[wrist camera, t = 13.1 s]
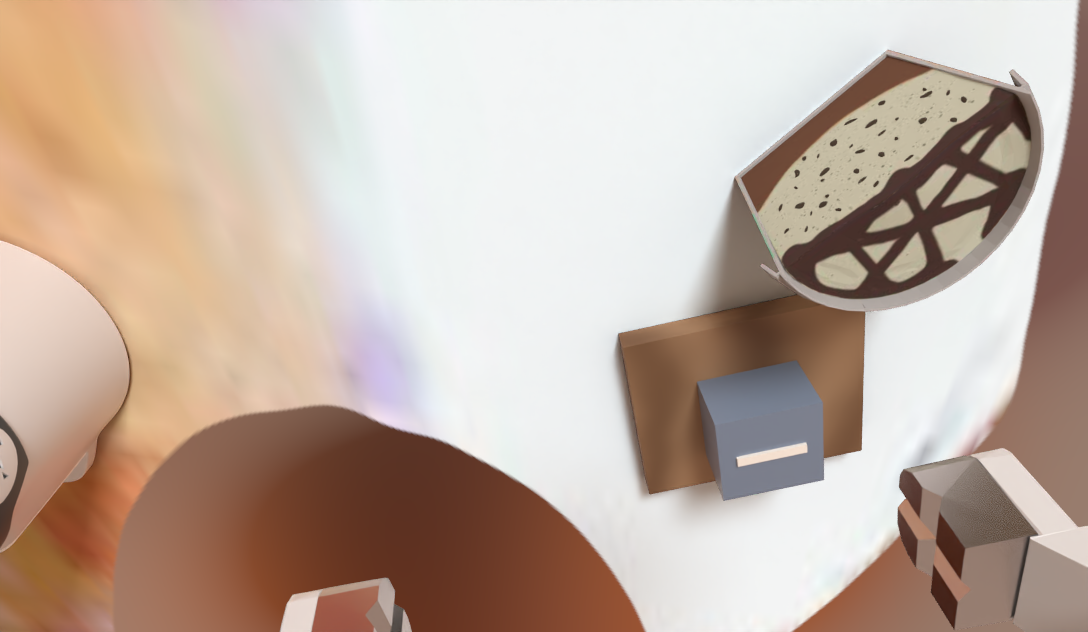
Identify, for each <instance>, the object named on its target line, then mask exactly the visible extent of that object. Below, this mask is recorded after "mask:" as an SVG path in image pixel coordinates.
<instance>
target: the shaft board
mask: <svg viewBox="0 0 1088 632" xmlns="http://www.w3.org/2000/svg"><path fill="white" fill-rule="evenodd" d="M864 335H865V312H864V311H847V310H842V309H837V308H832V307H828V306H825V305H821V304H818V303H815V302H813V301H810V300H808V299H805V298H803V297H801V296H799V295H794V296H790V297H785V298H780V299H776V300H771V301H767V302H762V303H757V304H753V305H748V306H744V307H739V308H734V309H730V310H725V311H721V312H716V313H711V314H707V315H702V316H698V317H693V318H688V319H684V320H679V321H675V322H670V323H665V324H661V325H656V326H652V327H647V328H642V329H638V330H633V331H629V332H624V333H619V339H620V345H621V350H622V355H623V361H624V366H625V372H626V377H627V382H628V388H629V393H630V399H631V404H632V409H633V415H634V420H635V426H636V431H637V436H638V442H639V447H640V453H641V458H642V463H643V469H644V474H645V479H646V483H647V486H648V490H649V494H654V493H659V492H664V491H669V490H673V489H678V488H683V487H688V486H693V485H697V484H702V483H707V482H712V481H716V480H715V477H714V474H713V472H712V469H711V466H710V464H709V461H708V459H707V456H706V450H705V442H704V435H703V427H702V419H701V411H700V403H699V395H698V387H697V382H698V381H703V380H707V379H712V378H717V377H721V376H726V375H731V374H735V373H740V372H744V371H749V370H754V369H758V368H763V367H768V366H772V365H777V364H782V363H786V362H791V361H796V360H797V362H798V363H799V365H800V367H801V368H802V370H803V371H804V373H805V375H806V376H807V378H808V379H809V381H810V383H811V384H812V386H813V387H814V389H815V391H816V392H817V394H818V395H819V397H820V399H821V400H822V402H823V450H824V458H827V457H832V456H837V455H841V454H846V453H851V452H856V451H861V450H862V413H863V374H864Z"/></svg>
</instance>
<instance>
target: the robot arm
mask: <svg viewBox="0 0 1088 632" xmlns="http://www.w3.org/2000/svg"><path fill="white" fill-rule="evenodd" d="M128 385H129V361H128V356H127V352H126V348H125V345H124V343H123V340H122V338H121V335H120V333H119V331H118V329H117V328H116V326H115V324H114V322H113V321H112V319H111V318H110V316H109V315H108V313H107V312H106V311H105V310H104V308H103V307H102V306H101V305H100V303H99V302H98V301H97V300H96V299H95V298H94V297H93V296H92V295H91V294H90V293H89V292H88V291H87V290H86V289H85V288H84V287H83V286H82V285H81V284H79V283H78V282H77V281H76V280H74V279H73V278H72V277H71V276H69V275H68V274H67V273H65V272H64V271H62V270H61V269H59V268H58V267H56V266H55V265H53V264H51V263H50V262H48V261H46V260H45V259H43V258H41V257H39V256H37V255H35V254H33V253H31V252H29V251H27V250H24V249H22V248H20V247H17V246H15V245H12V244H9V243H7V242H4V241H1V240H0V553H1V552H3V551H5V550H6V549H8V548H9V547H10V546H11V545H12V544H13V543H14V542H15V541H16V540H17V539H18V538H19V536H20V535H21V534H22V533H23V532H24V530H25V529H26V528H27V527H28V525H29V524H30V523H31V522H32V521H33V519H34V518H35V517H36V516H37V514H38V513H39V512H40V511H41V509H42V508H43V507H44V506H45V505H46V503H47V502H48V501H49V500H50V498H51V497H52V496H53V495H54V493H55V492H56V491H57V490H58V488H59V487H60V486H61V484H62V483H63V482H73V481H76V480H79V479H80V478H82V477H83V476H84V474H85V473H86V472H87V471H88V469H89V468H90V467H91V466H92V464H93V462H94V458H95V454H96V447H97V438H98V436H99V434H100V432H101V431H102V430H103V428H104V427H105V426H106V425H107V424H108V423H109V422H110V420H111V419H112V418H113V417H114V416H115V415H116V413H117V412H118V411H119V409H120V407H121V406H122V403H123V401H124V399H125V396H126V394H127V390H128ZM899 488H900V490H901V491H902V493H903V494H904V496H905V497H906V499H905V500H904V501H903V502H902V503H901V504H900V506H899V507H898V527H899V531H900V535H901V539H902V542H903V544H904V546H905V549H906V551H907V554H908V555H909V557H910V559H911V560H912V562H913V564H914V565H915V567H916V568H917V569H919V570H921V571H922V572H924V573H926V574H928V575H929V576H931V577H932V585H931V593H932V595H933V597H934V598H935V600H936V601H937V603H938V605H939V606H940V608H941V609H942V611H943V613H944V614H945V616H946V618H947V619H948V621H949V622H950V624H951V626H952V627H953V629H954V630H959V629H964V628H970V627H976V626H982V625H988V624H994V623H1000V622H1006V621H1012V620H1014V621H1013V624H1015V625H1016V626H1018V627H1019V628H1021V629H1022V630H1023V631H1025V632H1088V526H1084V527H1077V526H1076V525H1075V524H1074V523H1073V521H1072V520H1071V519H1070V518H1069V517H1068V516H1067V514H1066V513H1065V512H1064V511H1063V510H1062V509H1061V508H1060V507H1059V506H1058V504H1057V503H1056V502H1055V501H1054V500H1053V499H1052V498H1051V497H1050V496H1049V494H1048V493H1047V492H1046V491H1045V490H1044V489H1043V488H1042V487H1041V485H1040V484H1039V483H1038V482H1037V481H1036V480H1035V479H1034V478H1033V477H1032V475H1031V474H1030V473H1029V472H1028V471H1027V470H1026V469H1025V468H1024V466H1023V465H1022V464H1021V463H1020V462H1019V461H1018V460H1017V459H1016V458H1015V456H1014V455H1013V454H1012V453H1011V452H1009V451H1007V450H1006V449H1004V448H1002V449H997V450H992V451H987V452H983V453H978V454H973V455H969V456H961V457H957V458H952V459H948V460H943V461H939V462H934V463H930V464H925V465H921V466H916V467H911V468H907V469H903V471H902V473H901V475H900V481H899ZM394 596H395V590H394V589H393V587H392V585H391V583H390V581H389V579H388V578H381V579H375V580H370V581H364V582H359V583H353V584H348V585H342V586H336V587H331V588H325V589H321V590H316V591H311V592H306V593H300V594H295V595H292V597H291V599H290V600H289V602H288V603H287V605H286V609H285V613H284V617H283V621H282V625H281V629H280V632H412V631H411V628H410V624H409V620H408V617H407V615H406V613H405V611H404V609H403V608H400V607H399V606H397V605H395V604H394Z"/></svg>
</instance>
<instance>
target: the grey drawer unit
mask: <svg viewBox="0 0 1088 632" xmlns="http://www.w3.org/2000/svg"><path fill="white" fill-rule="evenodd" d="M697 387H698V395H699V403H700V411H701V419H702V427H703V435H704V442H705V450H706V456H707V459H708V461H709V464H710V466H711V469H712V472H713V474H714V477H715V480H716V482H717V485H718V487H719V490H720V493H721V495H722V498H723V501H725V500H730V499H735V498H740V497H744V496H749V495H754V494H759V493H764V492H768V491H773V490H778V489H783V488H787V487H792V486H797V485H802V484H807V483H811V482H816V481H821V480H824V450H823V402H822V400H821V399H820V397H819V395H818V394H817V392H816V391H815V389H814V387H813V386H812V384H811V383H810V381H809V379H808V378H807V376H806V375H805V373H804V371H803V370H802V368H801V367H800V365H799V363H798V362H797V360H796V361H791V362H786V363H782V364H777V365H772V366H768V367H763V368H758V369H754V370H749V371H744V372H740V373H735V374H731V375H726V376H721V377H717V378H712V379H707V380H703V381H698V382H697Z"/></svg>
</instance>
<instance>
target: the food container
mask: <svg viewBox="0 0 1088 632" xmlns="http://www.w3.org/2000/svg"><path fill="white" fill-rule="evenodd" d="M1009 73H1010V75H1011V77H1012V80H1013V82H1014V84H1015V86H1013V85H1010V84H1006V83H1003V82H999V81H996V80H992V79H989V78H985V77H982V76H978V75H975V74H971V73H968V72H964V71H961V70H957V69H954V68H950V67H947V66H943V65H940V64H936V63H933V62H929V61H926V60H922V59H919V58H915V57H912V56H908V55H905V54H901V53H898V52H894V51H891V50H887V51H886V52H885V53H883V54H882V55H881V56H880V57H878V58H877V59H876V60H875V61H874V62H872V63H871V64H870V65H869V66H868V67H866V68H865V69H864V70H863V71H862V72H860V73H859V74H858V75H857V76H856V77H854V78H853V79H852V80H851V81H850V82H848V83H847V84H846V85H845V86H844V87H842V88H841V89H840V90H839V91H838V92H836V93H835V94H834V95H833V96H832V97H830V98H829V99H828V100H827V101H826V102H824V103H823V104H822V105H821V106H820V107H818V108H817V109H816V110H815V111H814V112H812V113H811V114H810V115H809V116H808V117H806V118H805V119H804V120H803V121H802V122H800V123H799V124H798V125H797V126H796V127H794V128H793V129H792V130H791V131H789V132H788V133H787V134H786V135H785V136H783V137H782V138H781V139H780V140H779V141H777V142H776V143H775V144H774V145H773V146H771V147H770V148H769V149H768V150H767V151H765V152H764V153H763V154H762V155H761V156H759V157H758V158H757V159H756V160H755V161H753V162H752V163H751V164H750V165H749V166H747V167H746V168H745V169H744V170H743V171H741V172H740V173H739V174H738V175H737V176H735V179H736V181H737V183H738V185H739V187H740V189H741V191H742V194H743V196H744V198H745V200H746V202H747V204H748V206H749V209H750V211H751V213H752V215H753V217H754V219H755V221H756V223H757V226H758V228H759V230H760V232H761V234H762V236H763V238H764V240H765V243H766V245H767V247H768V249H769V251H770V253H771V255H772V257H773V260H774V262H775V264H776V266H777V268H778V270H779V272H777V273H776V272H774V271H773V270H771V269H770V268H768V267H767V266H765V265H764V264H763V263H762V264H761V265H760V267H761V268H763V269H764V270H765V271H766V272H767V273H768V274H769V275H770V276H772V277H773V278H774V279H776V280H777V281H778V282H780V283H781V284H783V285H784V286H785V287H787V288H788V289H790V290H791V291H793V292H795V293H796V294H798V295H799V296H801V297H803V298H805V299H808V300H810V301H813V302H815V303H818V304H821V305H825V306H828V307H832V308H837V309H842V310H847V311H864V312H867V311H878V310H887V309H892V308H897V307H901V306H906V305H909V304H911V303H914V302H917V301H920V300H923V299H926V298H928V297H930V296H932V295H934V294H936V293H938V292H940V291H943V290H945V289H946V288H948V287H950V286H951V285H953V284H954V283H956V282H958V281H959V280H961V279H962V278H964V277H965V276H967V275H968V274H969V273H970V272H972V271H973V270H974V269H976V268H977V267H978V266H979V265H981V264H982V263H983V262H984V261H985V260H986V259H987V258H988V257H989V256H990V255H991V254H992V253H993V252H994V251H995V250H996V249H997V248H998V247H999V246H1000V245H1001V243H1002V242H1003V241H1004V240H1005V239H1006V237H1007V236H1008V235H1009V234H1010V232H1011V231H1012V230H1013V228H1014V227H1015V225H1016V224H1017V222H1018V221H1019V219H1020V217H1021V216H1022V214H1023V213H1024V211H1025V209H1026V207H1027V205H1028V203H1029V201H1030V198H1031V196H1032V194H1033V192H1034V190H1035V186H1036V183H1037V180H1038V177H1039V174H1040V170H1041V164H1042V158H1043V151H1044V134H1043V125H1042V120H1041V115H1040V110H1039V107H1038V105H1037V103H1036V100H1035V98H1034V96H1033V93H1032V91H1031V89H1030V86H1029V84H1028V83H1027V82H1026V81H1025V80H1024V79H1023V78H1022V77H1021V76H1020V75H1019V74H1017V73H1016V72H1015V71H1014V70H1011V71H1010V72H1009Z"/></svg>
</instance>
